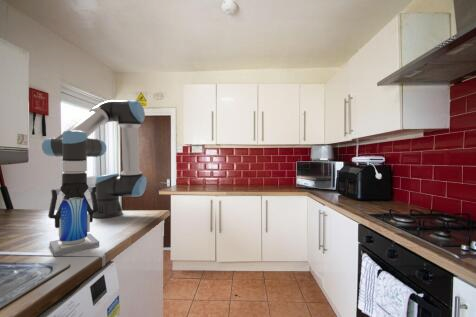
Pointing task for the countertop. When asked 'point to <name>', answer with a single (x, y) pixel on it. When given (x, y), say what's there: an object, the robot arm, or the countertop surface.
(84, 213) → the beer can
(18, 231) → the countertop surface
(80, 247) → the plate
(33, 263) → the countertop surface
